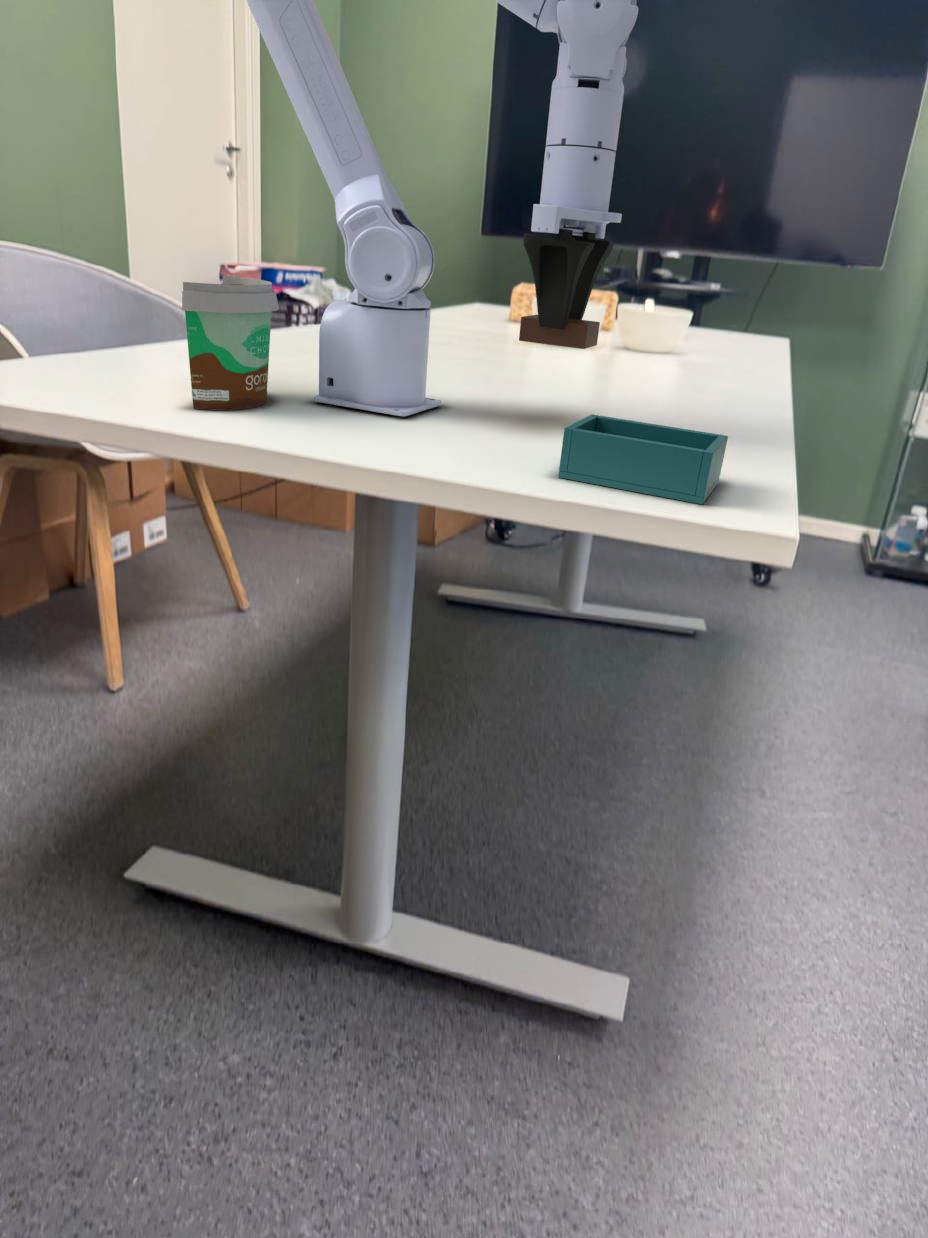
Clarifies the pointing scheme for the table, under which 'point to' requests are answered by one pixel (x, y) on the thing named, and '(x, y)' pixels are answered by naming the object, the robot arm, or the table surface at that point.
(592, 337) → the chocolate bar
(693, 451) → the open storage box
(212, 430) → the table surface
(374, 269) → the robot arm
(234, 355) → the food container
